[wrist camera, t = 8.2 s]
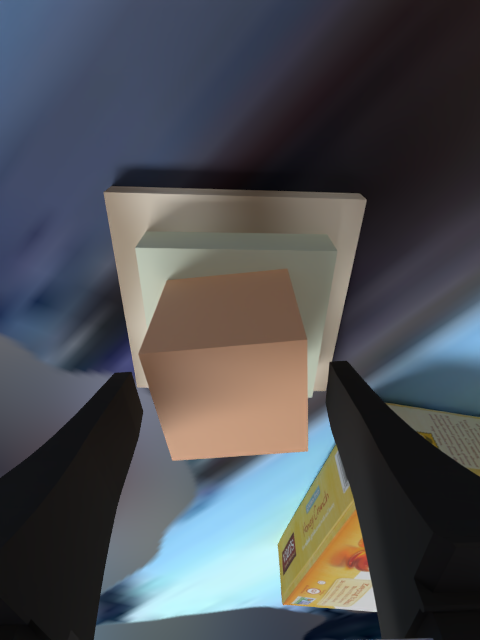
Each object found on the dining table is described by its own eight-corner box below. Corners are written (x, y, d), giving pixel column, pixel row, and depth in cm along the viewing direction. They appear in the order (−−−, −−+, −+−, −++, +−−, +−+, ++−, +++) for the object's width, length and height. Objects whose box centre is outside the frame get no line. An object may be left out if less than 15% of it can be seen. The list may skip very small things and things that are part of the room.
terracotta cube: (188, 372, 17) (172, 460, 13) (167, 280, 15) (138, 354, 11) (291, 363, 17) (307, 451, 13) (287, 268, 15) (307, 339, 10)
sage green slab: (163, 369, 20) (156, 395, 18) (146, 231, 16) (134, 247, 14) (305, 371, 20) (312, 397, 18) (327, 234, 16) (337, 251, 14)
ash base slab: (144, 365, 22) (137, 387, 21) (117, 181, 16) (103, 192, 15) (318, 368, 23) (325, 390, 21) (354, 188, 17) (366, 199, 15)
